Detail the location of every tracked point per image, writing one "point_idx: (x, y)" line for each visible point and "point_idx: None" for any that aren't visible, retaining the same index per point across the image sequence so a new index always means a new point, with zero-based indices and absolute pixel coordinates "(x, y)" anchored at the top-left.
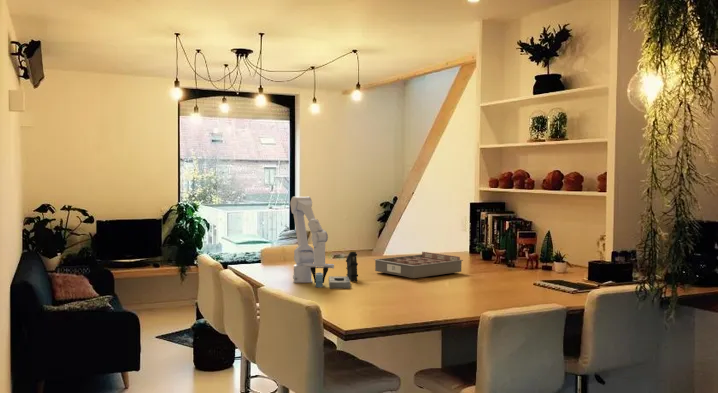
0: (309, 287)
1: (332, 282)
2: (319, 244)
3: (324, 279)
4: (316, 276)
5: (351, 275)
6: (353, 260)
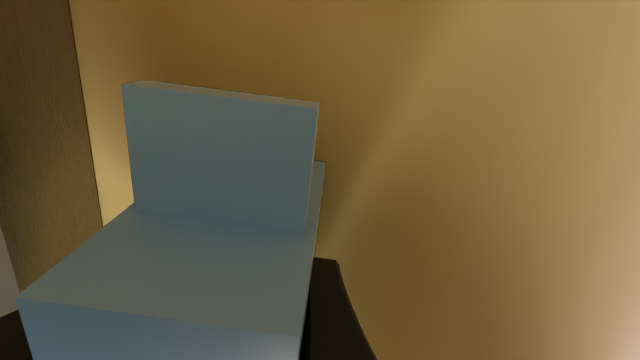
0: (444, 148)
1: None
2: None
3: None
4: (285, 286)
5: None
6: None
